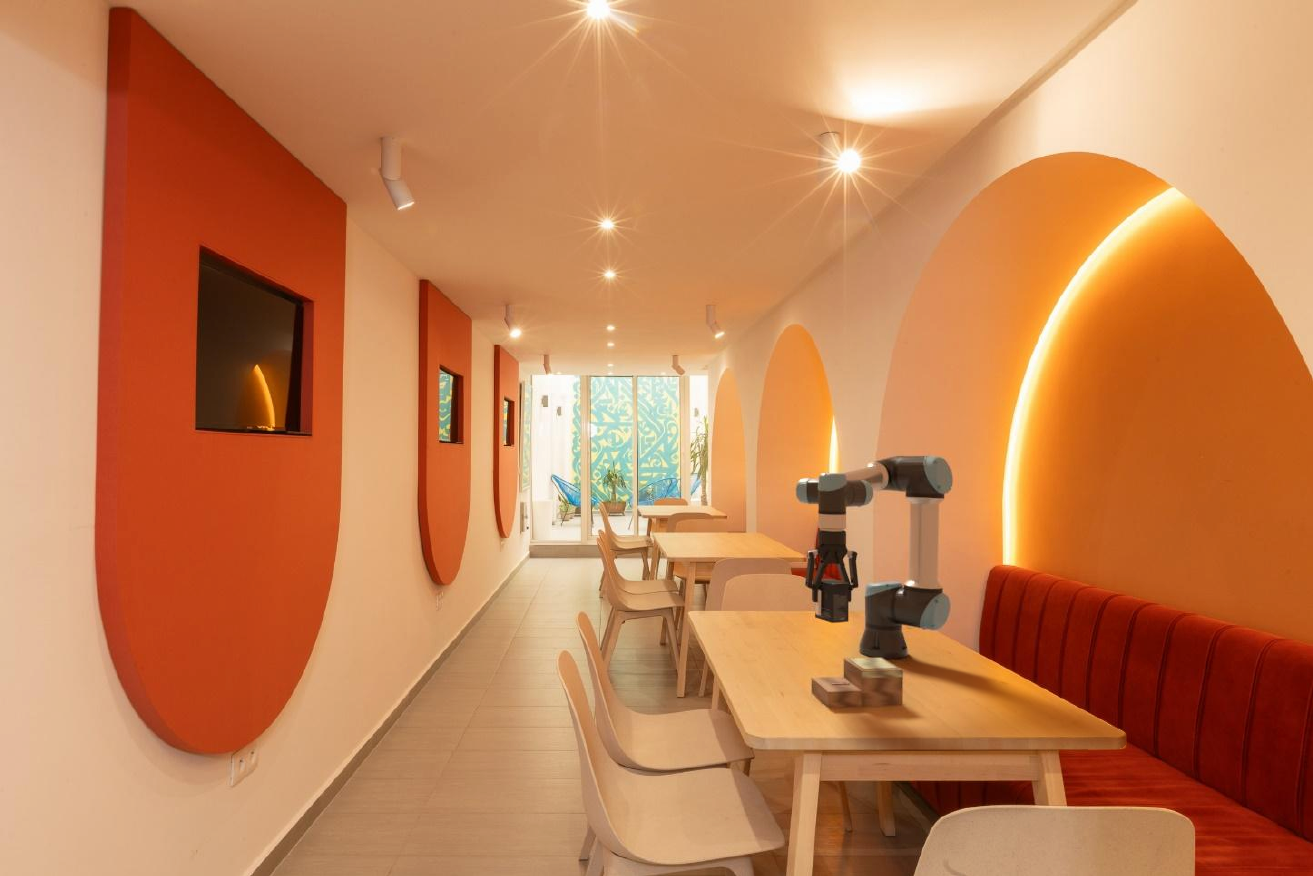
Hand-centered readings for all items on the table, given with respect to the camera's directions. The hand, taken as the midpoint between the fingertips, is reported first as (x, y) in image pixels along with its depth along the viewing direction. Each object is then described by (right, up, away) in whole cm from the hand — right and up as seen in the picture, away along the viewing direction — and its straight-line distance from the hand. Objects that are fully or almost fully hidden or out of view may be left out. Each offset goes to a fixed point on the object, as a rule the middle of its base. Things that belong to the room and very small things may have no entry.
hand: (831, 614), depth 200 cm
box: (0, -2, 0) cm, 2 cm away
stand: (+5, -21, -7) cm, 22 cm away
